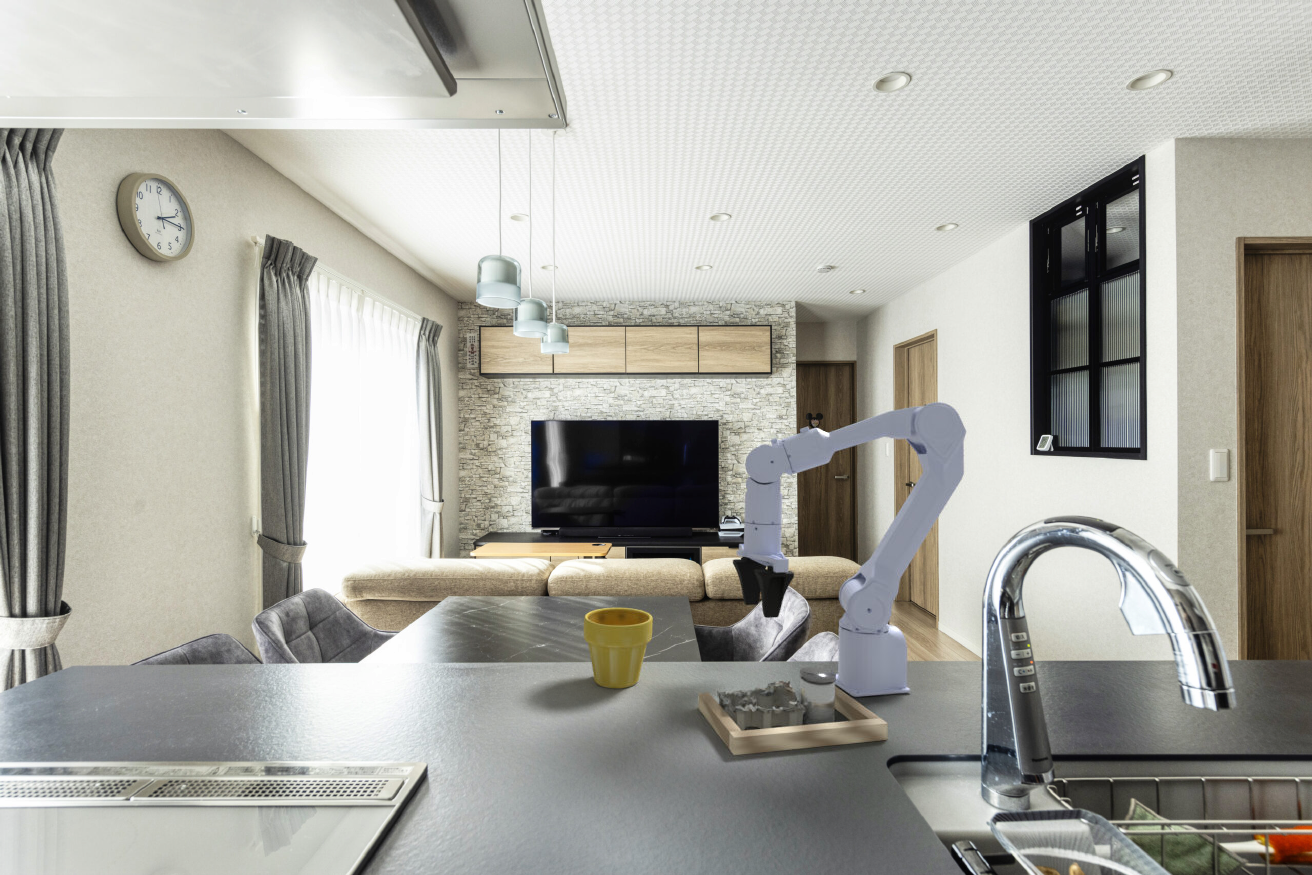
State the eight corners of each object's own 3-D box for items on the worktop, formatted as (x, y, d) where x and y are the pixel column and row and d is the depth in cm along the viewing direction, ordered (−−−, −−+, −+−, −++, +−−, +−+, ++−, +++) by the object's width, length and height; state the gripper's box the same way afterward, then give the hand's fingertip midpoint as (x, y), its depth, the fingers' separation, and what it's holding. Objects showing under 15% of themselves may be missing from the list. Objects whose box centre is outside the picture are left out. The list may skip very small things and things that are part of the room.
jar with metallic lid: (828, 712, 85) (829, 666, 85) (840, 727, 80) (841, 679, 80) (795, 712, 84) (795, 666, 85) (804, 727, 80) (805, 679, 80)
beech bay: (831, 697, 90) (831, 683, 90) (887, 739, 77) (887, 723, 77) (698, 707, 85) (698, 693, 85) (733, 755, 72) (734, 737, 72)
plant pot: (650, 695, 89) (651, 626, 90) (577, 692, 90) (579, 624, 90) (652, 669, 100) (653, 608, 100) (587, 667, 100) (588, 606, 100)
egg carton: (792, 709, 86) (793, 679, 86) (808, 734, 79) (808, 701, 79) (715, 708, 86) (716, 678, 86) (723, 733, 78) (724, 700, 78)
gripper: (722, 517, 104) (720, 600, 103) (757, 528, 90) (755, 624, 89) (762, 517, 105) (760, 598, 105) (802, 528, 91) (800, 622, 91)
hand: (760, 610), depth 97 cm, fingers open, 7 cm apart
